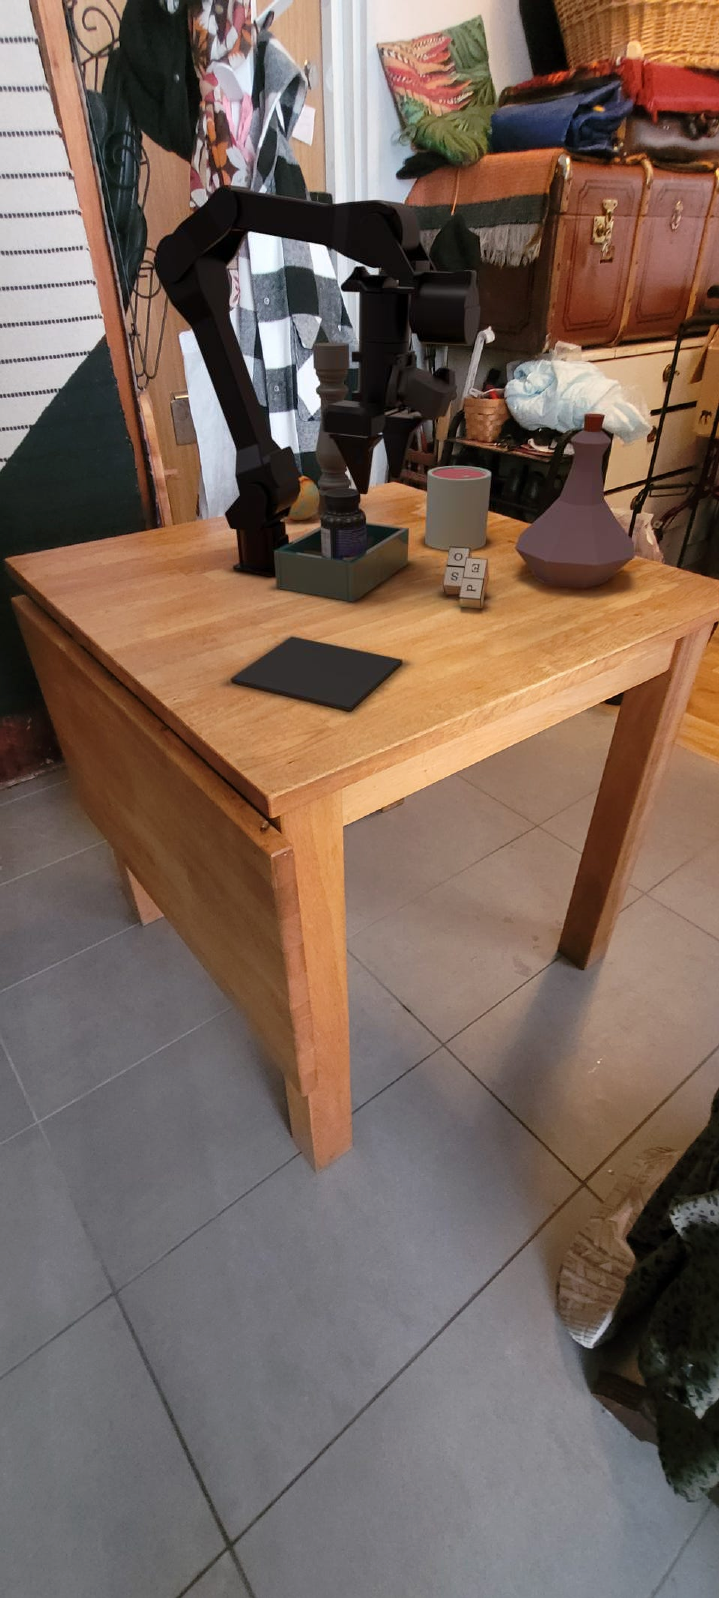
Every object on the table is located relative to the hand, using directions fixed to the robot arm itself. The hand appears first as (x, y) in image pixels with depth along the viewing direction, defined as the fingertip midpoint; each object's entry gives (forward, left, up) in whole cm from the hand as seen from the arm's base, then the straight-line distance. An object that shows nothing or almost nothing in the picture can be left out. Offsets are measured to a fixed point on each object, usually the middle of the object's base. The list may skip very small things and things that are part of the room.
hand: (380, 485), depth 96 cm
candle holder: (-23, +29, -13) cm, 39 cm away
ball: (-26, +22, -13) cm, 36 cm away
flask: (+22, +14, -13) cm, 29 cm away
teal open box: (-6, +1, -13) cm, 14 cm away
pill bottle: (-6, +1, -13) cm, 14 cm away
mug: (+1, +24, -13) cm, 27 cm away
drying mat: (+6, -27, -13) cm, 31 cm away
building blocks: (+12, 0, -13) cm, 18 cm away
